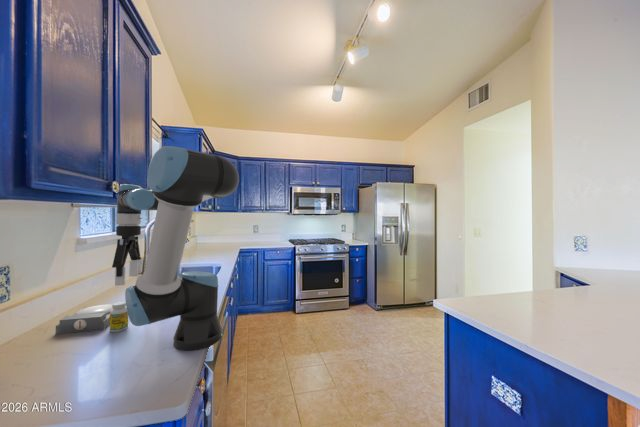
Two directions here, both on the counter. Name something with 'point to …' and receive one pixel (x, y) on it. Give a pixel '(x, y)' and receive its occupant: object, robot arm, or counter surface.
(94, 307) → the scale
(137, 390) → the counter surface
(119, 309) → the supplement bottle
